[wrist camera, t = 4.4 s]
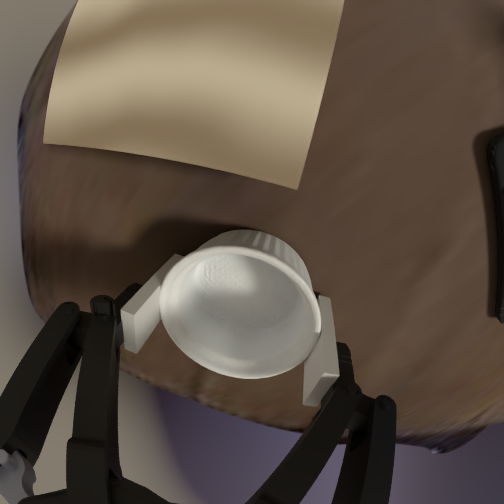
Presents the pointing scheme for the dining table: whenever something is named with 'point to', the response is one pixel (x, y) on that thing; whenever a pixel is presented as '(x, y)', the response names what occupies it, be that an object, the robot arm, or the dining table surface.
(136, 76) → the ash plinth
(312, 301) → the ramekin
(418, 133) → the dining table surface
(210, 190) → the dining table surface
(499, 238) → the game console
